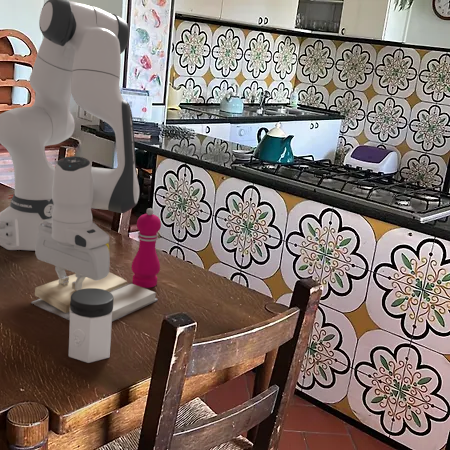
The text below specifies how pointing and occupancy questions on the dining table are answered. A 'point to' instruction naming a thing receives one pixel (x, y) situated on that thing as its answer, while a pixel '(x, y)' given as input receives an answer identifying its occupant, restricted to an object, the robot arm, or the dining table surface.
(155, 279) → the pepper mill
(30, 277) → the dining table surface
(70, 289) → the birch plank
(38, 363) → the dining table surface
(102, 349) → the jar
